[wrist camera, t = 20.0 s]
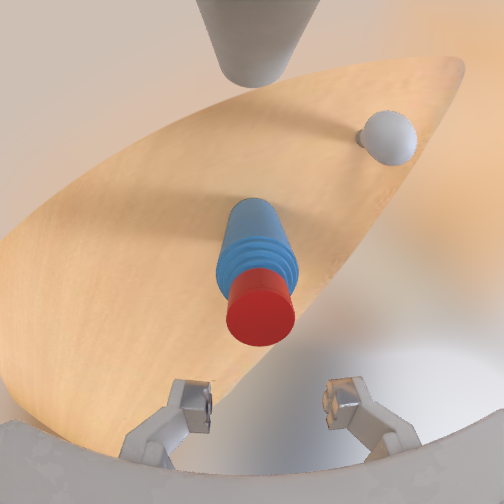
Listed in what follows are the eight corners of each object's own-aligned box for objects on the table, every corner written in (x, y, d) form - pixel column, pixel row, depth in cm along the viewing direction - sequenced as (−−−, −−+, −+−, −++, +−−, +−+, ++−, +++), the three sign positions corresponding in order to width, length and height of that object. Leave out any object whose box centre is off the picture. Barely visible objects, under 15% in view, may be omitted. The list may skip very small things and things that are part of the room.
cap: (228, 266, 18) (225, 289, 15) (290, 266, 18) (298, 290, 15) (229, 318, 19) (227, 346, 16) (285, 318, 19) (291, 346, 16)
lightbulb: (353, 108, 31) (392, 95, 20) (388, 133, 32) (435, 132, 21) (333, 145, 33) (368, 145, 22) (370, 169, 34) (413, 179, 23)
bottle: (229, 197, 35) (203, 266, 15) (278, 198, 35) (320, 267, 15) (229, 244, 37) (210, 354, 17) (276, 245, 37) (306, 354, 17)
